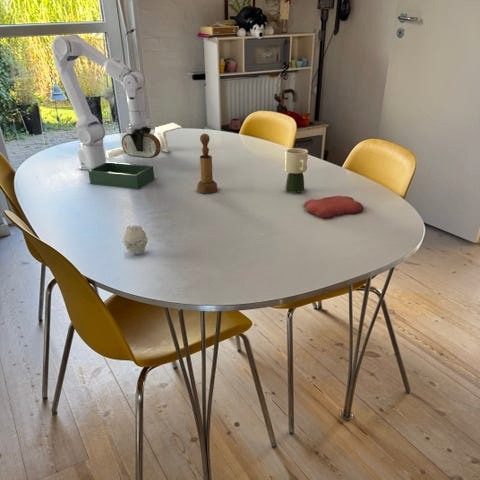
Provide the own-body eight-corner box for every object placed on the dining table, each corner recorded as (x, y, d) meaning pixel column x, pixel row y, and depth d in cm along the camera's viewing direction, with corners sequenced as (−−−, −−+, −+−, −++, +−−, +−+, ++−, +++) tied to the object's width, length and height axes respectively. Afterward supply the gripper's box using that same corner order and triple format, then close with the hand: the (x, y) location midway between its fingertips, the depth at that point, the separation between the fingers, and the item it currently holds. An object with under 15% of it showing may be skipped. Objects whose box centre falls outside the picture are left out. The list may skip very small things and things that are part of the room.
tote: (90, 183, 169) (87, 170, 166) (108, 174, 178) (106, 161, 175) (138, 189, 163) (136, 175, 160) (154, 179, 172) (153, 166, 170)
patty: (319, 220, 137) (319, 214, 136) (296, 205, 148) (297, 198, 147) (371, 211, 143) (371, 205, 141) (345, 197, 153) (346, 191, 152)
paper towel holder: (181, 126, 199) (107, 146, 189) (185, 147, 204) (113, 168, 194) (173, 122, 206) (101, 141, 196) (177, 143, 211) (107, 162, 201)
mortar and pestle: (214, 194, 158) (211, 136, 148) (195, 193, 159) (191, 136, 149) (219, 187, 163) (217, 132, 153) (200, 186, 164) (197, 131, 154)
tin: (162, 158, 176) (160, 133, 172) (158, 159, 173) (156, 135, 169) (126, 154, 180) (123, 130, 176) (121, 156, 178) (119, 132, 174)
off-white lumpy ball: (150, 246, 124) (147, 221, 120) (147, 258, 118) (143, 232, 115) (127, 247, 124) (123, 221, 120) (122, 259, 118) (118, 233, 114)
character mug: (312, 194, 156) (315, 153, 149) (292, 197, 154) (294, 156, 147) (297, 185, 164) (299, 145, 157) (278, 187, 162) (279, 147, 155)
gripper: (136, 114, 161) (141, 156, 169) (157, 107, 173) (160, 146, 180) (118, 113, 163) (124, 154, 171) (139, 106, 175) (144, 144, 182)
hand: (141, 150), depth 176 cm, fingers closed on tin, 2 cm apart
